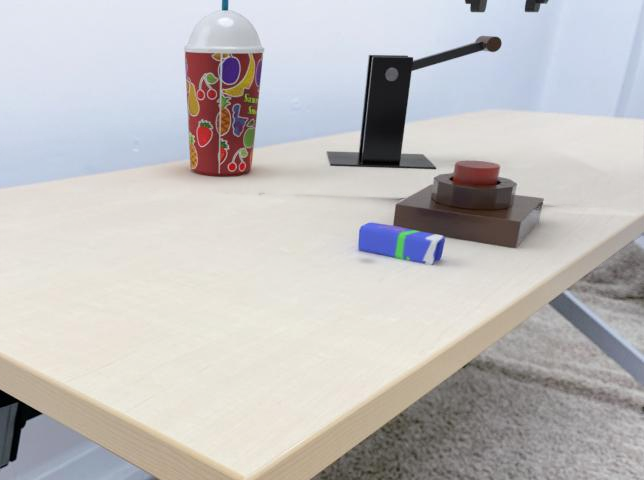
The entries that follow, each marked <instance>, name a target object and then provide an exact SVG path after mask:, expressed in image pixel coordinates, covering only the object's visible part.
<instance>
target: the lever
mask: <svg viewBox="0 0 644 480" xmlns="http://www.w3.org/2000/svg"><path fill="white" fill-rule="evenodd" d="M502 44H503V43H502V39H501V38H500V37H499V36H492V35H480V36H479V37H477V38H476V39H475V41H474V42H471V43H467V44H465V45H460V46H457V47H454V48H451V49H448V50H444V51H441V52H438V53H434V54H431V55H426V56H424V57H421V58H420V57H419V58H417V59H413V65H412V72H414V71H418V70H420V69H424V68H427V67H430V66H434V65H438V64H442V63H444V62H449V61H451V60H455V59H459V58H462V57H465V56H469V55H472V54H477V53H479V52H489V53H496V52H498V51H499V50H500V49H501V47H502Z"/></svg>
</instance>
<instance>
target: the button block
mask: <svg viewBox="0 0 644 480" xmlns="http://www.w3.org/2000/svg"><path fill="white" fill-rule="evenodd" d="M453 174H454V172H450V173H440V174H438V175H436V176H434V177H433V181H432V184H431V183H430V184H429V185H428V186H426V187H424V188H422V189H420V190H419V191H417V192H415V193H413V194H411V195H409V196H408V197H406V198H404V199H402V200H400V201H399V202H397V203H395V207H394V216H393V223H392V226H397V227H402V228H406V229H411V230H416V231H420V232H426V233H431V234H437V235H442V236H444V237H445V238H448V239H453V240H461V241H467V242H473V243H478V244H486V245H491V246H497V247H504V248H510V249H517V248H518V247H519V245H520V244H521V243H523V241H524V240H525V238H527V236H529V234H530V233H531V232H532V231H533V229H534V228H535V227H536V226H537V225H538V224H539V223H540V219H541V214H542V209H543V205H544V198H543V197H536V196H527V195H519V194H516V191H517V186H518V183H517V182H515V181H514V180H512V179H510V178H506V177H502V176H498V182H497V185H491V186H483V185H468V184H461V183H457V182H453Z"/></svg>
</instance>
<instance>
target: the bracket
mask: <svg viewBox="0 0 644 480" xmlns="http://www.w3.org/2000/svg"><path fill="white" fill-rule="evenodd" d="M367 58H368V59H367V69H366V77H365V78H366V79H365V87H364V98H363V108H362V118H361V126H360V134H359V135H360V137H359V145H358V146H359V147H358V151H331V150H329V151H326V156H327V159H328V163H329V166H330V167H349V168H350V167H352V168H382V169H383V168H384V169H410V170H411V169H412V170H413V169H414V170H437V166H436V165H434V164H433V162H432V161H430V159H428V157H426V156H425V154H423V153H402V151H403V142H404V134H405V129H406V128H405V126H406V121H407V120H406V118H407V111H408V102H409V95H410V87H411V79H412V73H413V71H412V65H413V60H414V57H413V56H409V55H404V54H403V55H402V54H401V55H400V54H399V55H398V54H397V55H395V54H368V57H367Z"/></svg>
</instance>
